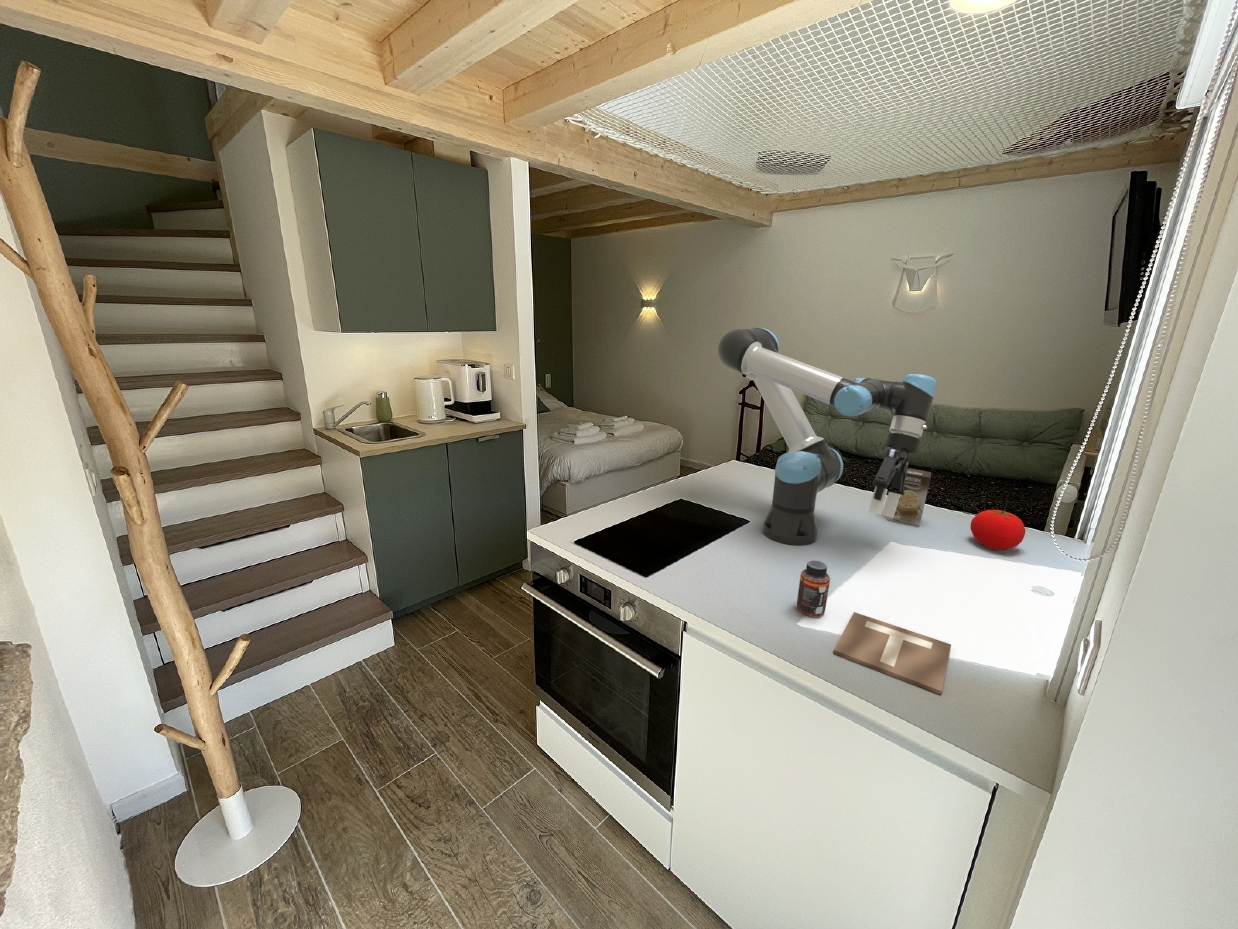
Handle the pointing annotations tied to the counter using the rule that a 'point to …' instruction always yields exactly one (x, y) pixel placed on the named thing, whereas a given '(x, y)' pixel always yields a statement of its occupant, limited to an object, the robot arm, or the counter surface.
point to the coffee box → (912, 498)
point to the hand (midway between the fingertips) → (881, 515)
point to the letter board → (895, 651)
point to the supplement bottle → (813, 589)
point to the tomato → (997, 529)
